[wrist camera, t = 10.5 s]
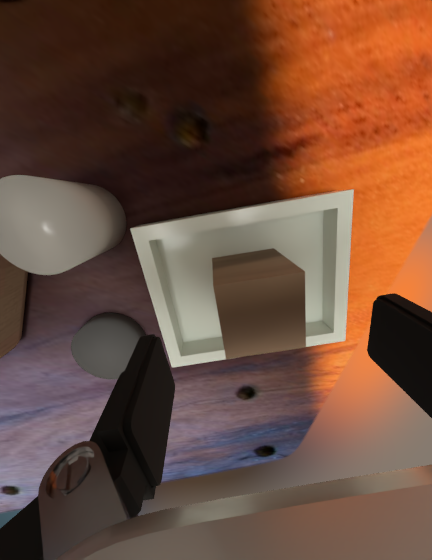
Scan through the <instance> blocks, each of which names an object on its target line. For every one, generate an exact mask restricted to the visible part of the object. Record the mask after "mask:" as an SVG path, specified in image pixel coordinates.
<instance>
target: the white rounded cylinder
mask: <svg viewBox="0 0 432 560" xmlns="http://www.w3.org/2000/svg"><path fill="white" fill-rule="evenodd" d="M126 224H127V222H126V216H125V212H124V210H123V208H122V206H121V204H120V203H119V201H118V200H117V199H116V197H115V196H114V195H112V194H111V193H110V192H109V191H107V190H106V189H104V188H102V187H99V186H96V185H92V184H85V183H77V182H70V181H63V180H55V179H48V178H41V177H33V176H26V175H12V176H7V177H3V178H1V179H0V254H1V255H2V256H3V257H4V258H5V259H6V260H8V261H9V262H11V263H12V264H14V265H15V266H17V267H19V268H21V269H23V270H25V271H28V272H31V273H35V274H40V275H54V274H59V273H62V272H65V271H67V270H69V269H71V268H73V267H75V266H77V265H79V264H81V263H83V262H85V261H87V260H89V259H91V258H93V257H95V256H97V255H100V254H102V253H104V252H106V251H108V250H110V249H112V248H114V247H115V246H117V245H118V244H119V243H120V242H121V240H122V239H123V237H124V235H125V232H126Z"/></svg>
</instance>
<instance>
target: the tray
mask: <svg viewBox="0 0 432 560" xmlns="http://www.w3.org/2000/svg"><path fill="white" fill-rule="evenodd" d="M353 193H354V189H351V190H338V191H330V192H324V193H318V194H313V195H307V196H301V197H296V198H290V199H284V200H279V201H273V202H267V203H262V204H256V205H250V206H245V207H239V208H233V209H228V210H222V211H216V212H211V213H205V214H199V215H194V216H188V217H182V218H177V219H171V220H165V221H160V222H154V223H148V224H142V225H139V226H136V227H133V228H131V229H130V230H131V233H132V237H133V240H134V243H135V247H136V250H137V253H138V257H139V260H140V263H141V266H142V270H143V273H144V276H145V280H146V283H147V286H148V290H149V293H150V296H151V300H152V303H153V306H154V310H155V313H156V316H157V319H158V323H159V326H160V329H161V333H162V336H163V339H164V343H165V346H166V349H167V353H168V356H169V359H170V362H171V366H172V367H179V366H185V365H192V364H198V363H205V362H211V361H218V360H224V359H226V356H225V350H224V345H223V339H222V333H221V327H220V322H219V316H218V310H217V305H216V299H215V293H214V287H213V269H212V258H216V257H222V256H228V255H234V254H241V253H247V252H253V251H259V250H266V249H272V248H274V249H275V250H277V251H278V252H279V253H281V254H282V255H284V256H285V257H286V258H288V259H289V260H290V261H292V262H293V263H294V264H296V265H297V266H298V267H300V268H301V269H302V270H304V271H305V312H306V347H308V346H315V345H321V344H328V343H334V342H341V341H345V337H346V319H347V301H348V283H349V265H350V247H351V229H352V211H353Z"/></svg>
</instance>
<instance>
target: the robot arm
mask: <svg viewBox="0 0 432 560" xmlns="http://www.w3.org/2000/svg"><path fill="white" fill-rule="evenodd" d="M367 351H368V354H369V356H370V358H371V359H372V360H373V361H374V362H375V363H376V364H377V365H378V366H379V367H380V368H381V369H382V370H383V371H384V372H385V373H387V374H388V376H389V377H391V378H392V379H393V380H394V381H395V382H396V383H397V384H398V385H399V386H400V387H401V388H402V389H403V390H404V391H405V392H406V393H407V394H408V395H409V396H410V397H411V398H412V399H413V400H414V401H415V402H416V403H417V404H418V405H419V406H420V407H421V408H422V409H423V410H424V411H425V412H426V413H427V414H428V415H429V416H430V417H431V418H432V312H430V311H428V310H426V309H425V308H423V307H421V306H419V305H417V304H415V303H413V302H411V301H409V300H407V299H405V298H403V297H401V296H400V295H397V294H387V295H381V296H378V297H377V299H376V300H375V301H374V303H373V310H372V318H371V325H370V333H369V341H368V349H367ZM174 393H175V384H174V380H173V377H172V374H171V371H170V367H169V364H168V361H167V358H166V355H165V352H164V349H163V346H162V343H161V340H160V338H159V337H156V336H155V335H154V334H152V335H147V336H141V337H140V338H139V340H138V342H137V344H136V347H135V349H134V351H133V353H132V356H131V358H130V360H129V362H128V365H127V367H126V369H125V371H123V372H122V373H121V374H120V376H119V378H118V380H117V382H116V385H115V387H114V389H113V391H112V393H111V395H110V398H109V400H108V402H107V404H106V406H105V408H104V411H103V413H102V415H101V417H100V419H99V421H98V423H97V426H96V428H95V430H94V432H93V434H92V436H91V439H90V441H83V442H81V443H78V444H75V445H74V446H72V447H70V448H69V449H67V450H66V451H65V452H64V453H62V454H61V455H60V456H59V457H58V458H57V459H56V460H55V461H54V462H53V464H52V465H51V466H50V467H49V469H48V470H47V472H46V473H45V475H44V477H43V479H42V481H41V484H40V487H39V494H38V497H36V498H35V499H34V500H33V501H32V502H31V503H30V504H28V505H27V506H26V507H25V508H24V509H23V510H21V511H20V512H19V513H18V514H17V515H16V516H15V517H13V518H12V519H11V520H10V521H9V522H8V523H6V524H5V525H4V526H3V527H2V528H1V529H0V560H432V465H427V466H421V467H414V468H409V469H402V470H396V471H389V472H383V473H376V474H370V475H364V476H358V477H351V478H345V479H339V480H333V481H326V482H320V483H314V484H308V485H302V486H296V487H290V488H284V489H278V490H272V491H266V492H259V493H254V494H248V495H242V496H235V497H229V498H223V499H218V500H213V501H207V502H202V503H197V504H191V505H186V506H181V507H175V508H170V509H165V510H161V511H157V512H153V513H149V514H145V515H141V516H138V513H139V512H140V511H141V507H142V502H143V500H148V499H154V494H155V488H156V486H158V485H160V483H161V480H162V474H163V467H164V460H165V453H166V447H167V440H168V433H169V426H170V420H171V413H172V406H173V399H174Z"/></svg>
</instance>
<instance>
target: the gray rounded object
mask: <svg viewBox="0 0 432 560" xmlns="http://www.w3.org/2000/svg"><path fill="white" fill-rule="evenodd" d="M141 336H146V335H145V333H144V331H143V329H142V328H141V326H140V325H139V324H138V323H137V322H135V321H134V320H133V319H131V318H129V317H127V316H125V315H122V314H118V313H103V314H99V315H96V316H95V317H93V318H91V319H90V320H89V321H88V322H87V323H86V324H85V325H84V326H83V327H82V328H81V329H80V330H79V331H78V332H77V333H76V334H75V336H74V338H73V340H72V343H71V351H72V355H73V357H74V359H75V361H76V362H77V363H78V365H79V366H80V367H81V368H82V369H84V370H85V371H86V372H88V373H90V374H92V375H94V376H96V377H99V378H104V379H118V378H119V376H120V374H121V373H122V372H123V371H125V369H126V367H127V365H128V362H129V360H130V358H131V356H132V353H133V351H134V349H135V347H136V344H137V342H138V340H139V338H140V337H141Z"/></svg>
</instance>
